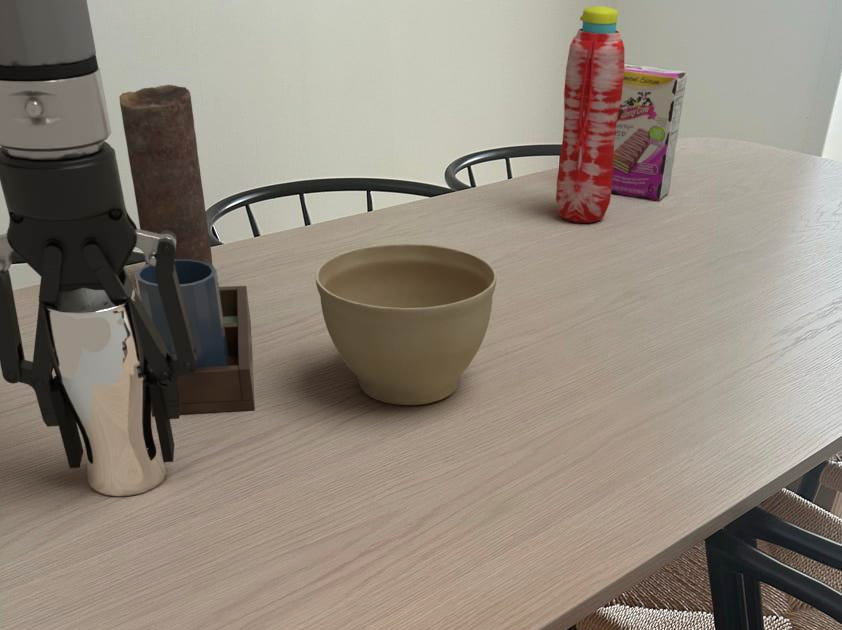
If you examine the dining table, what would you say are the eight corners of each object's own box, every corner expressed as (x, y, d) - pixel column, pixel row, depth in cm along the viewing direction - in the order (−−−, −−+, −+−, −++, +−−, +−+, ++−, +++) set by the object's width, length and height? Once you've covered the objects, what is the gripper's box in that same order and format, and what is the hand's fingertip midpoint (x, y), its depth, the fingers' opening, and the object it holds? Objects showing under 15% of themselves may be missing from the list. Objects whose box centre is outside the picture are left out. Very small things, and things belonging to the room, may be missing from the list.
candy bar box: (588, 190, 148) (600, 66, 138) (600, 182, 152) (612, 60, 141) (660, 202, 145) (678, 75, 134) (670, 194, 148) (688, 69, 138)
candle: (226, 290, 113) (200, 94, 100) (164, 302, 109) (129, 101, 97) (200, 270, 117) (172, 80, 105) (140, 281, 114) (103, 86, 101)
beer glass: (88, 506, 77) (40, 319, 67) (78, 464, 82) (31, 284, 72) (179, 490, 79) (144, 306, 70) (164, 450, 84) (129, 273, 75)
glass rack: (132, 417, 89) (123, 375, 86) (146, 327, 104) (139, 289, 101) (254, 410, 90) (249, 368, 88) (250, 322, 106) (246, 285, 103)
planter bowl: (327, 351, 101) (319, 241, 94) (485, 351, 102) (488, 243, 95) (319, 425, 89) (309, 305, 82) (498, 424, 90) (504, 306, 83)
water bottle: (569, 199, 144) (586, -3, 128) (622, 207, 142) (646, 2, 126) (542, 222, 136) (557, 8, 120) (598, 231, 134) (621, 14, 118)
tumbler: (163, 400, 89) (143, 290, 83) (149, 370, 94) (129, 263, 87) (238, 388, 91) (223, 280, 85) (221, 359, 96) (206, 255, 90)
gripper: (-123, 162, 60) (-14, 489, 75) (204, 156, 63) (246, 471, 78) (-93, 132, 66) (3, 442, 81) (206, 128, 69) (245, 427, 84)
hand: (123, 456), depth 79 cm, fingers closed on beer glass, 6 cm apart
